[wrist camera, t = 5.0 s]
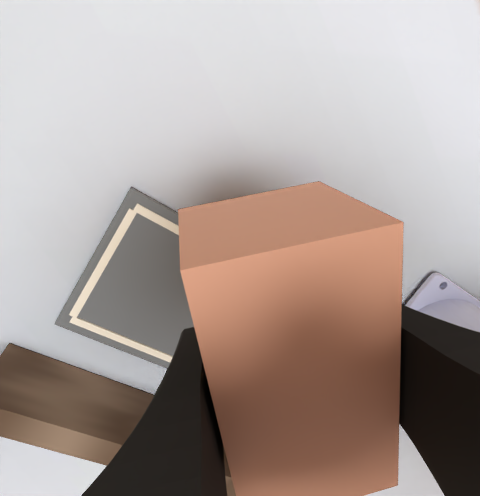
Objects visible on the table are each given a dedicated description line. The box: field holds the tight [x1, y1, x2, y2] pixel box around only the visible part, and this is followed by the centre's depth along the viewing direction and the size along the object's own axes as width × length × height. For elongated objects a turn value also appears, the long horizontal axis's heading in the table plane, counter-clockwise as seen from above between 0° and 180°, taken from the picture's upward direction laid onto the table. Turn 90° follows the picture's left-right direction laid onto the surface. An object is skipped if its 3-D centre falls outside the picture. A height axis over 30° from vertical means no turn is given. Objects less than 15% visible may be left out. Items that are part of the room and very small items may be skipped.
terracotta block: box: [178, 181, 403, 496], centre depth 10 cm, size 4×8×4 cm, turn 9°
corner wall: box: [0, 343, 236, 496], centre depth 19 cm, size 15×11×4 cm
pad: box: [55, 187, 194, 369], centre depth 20 cm, size 11×8×1 cm
